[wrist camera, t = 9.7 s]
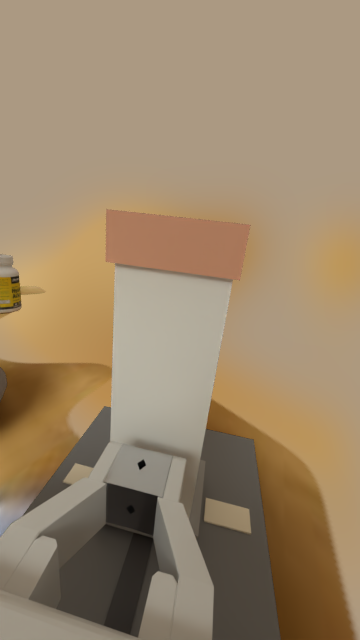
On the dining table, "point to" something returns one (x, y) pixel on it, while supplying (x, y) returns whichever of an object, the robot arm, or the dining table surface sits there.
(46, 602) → the robot arm
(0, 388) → the coffee pot
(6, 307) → the supplement bottle
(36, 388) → the dining table surface
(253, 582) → the fader console
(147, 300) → the fader knob
